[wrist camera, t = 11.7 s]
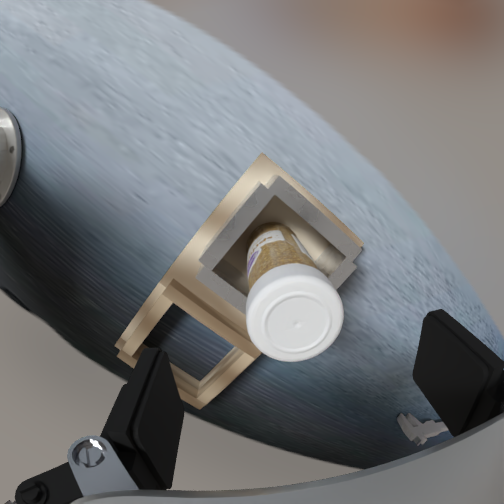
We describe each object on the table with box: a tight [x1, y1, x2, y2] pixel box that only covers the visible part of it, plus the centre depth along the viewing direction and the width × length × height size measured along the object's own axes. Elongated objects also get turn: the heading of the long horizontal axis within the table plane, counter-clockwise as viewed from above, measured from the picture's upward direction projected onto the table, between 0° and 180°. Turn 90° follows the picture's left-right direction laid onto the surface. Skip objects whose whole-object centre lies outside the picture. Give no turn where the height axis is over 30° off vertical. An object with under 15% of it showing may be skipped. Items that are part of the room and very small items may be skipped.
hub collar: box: [195, 175, 362, 315], centre depth 24 cm, size 9×9×4 cm
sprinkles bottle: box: [246, 222, 344, 362], centre depth 20 cm, size 5×5×13 cm
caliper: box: [397, 413, 448, 446], centre depth 33 cm, size 20×1×6 cm, turn 70°
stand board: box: [115, 153, 364, 410], centre depth 27 cm, size 24×12×3 cm, turn 141°
